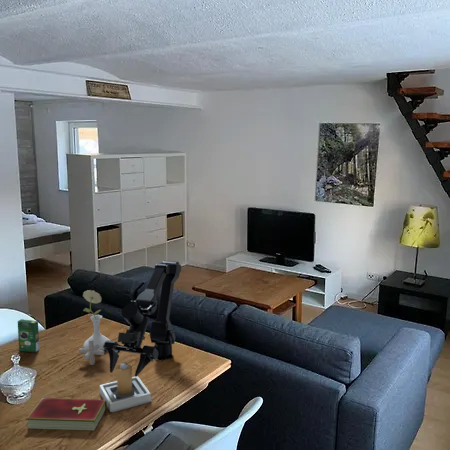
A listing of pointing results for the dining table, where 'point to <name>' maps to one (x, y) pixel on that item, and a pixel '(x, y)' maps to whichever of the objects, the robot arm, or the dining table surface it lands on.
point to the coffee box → (28, 335)
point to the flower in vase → (94, 320)
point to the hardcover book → (67, 414)
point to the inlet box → (119, 404)
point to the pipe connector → (91, 351)
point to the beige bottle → (124, 381)
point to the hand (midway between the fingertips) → (123, 374)
